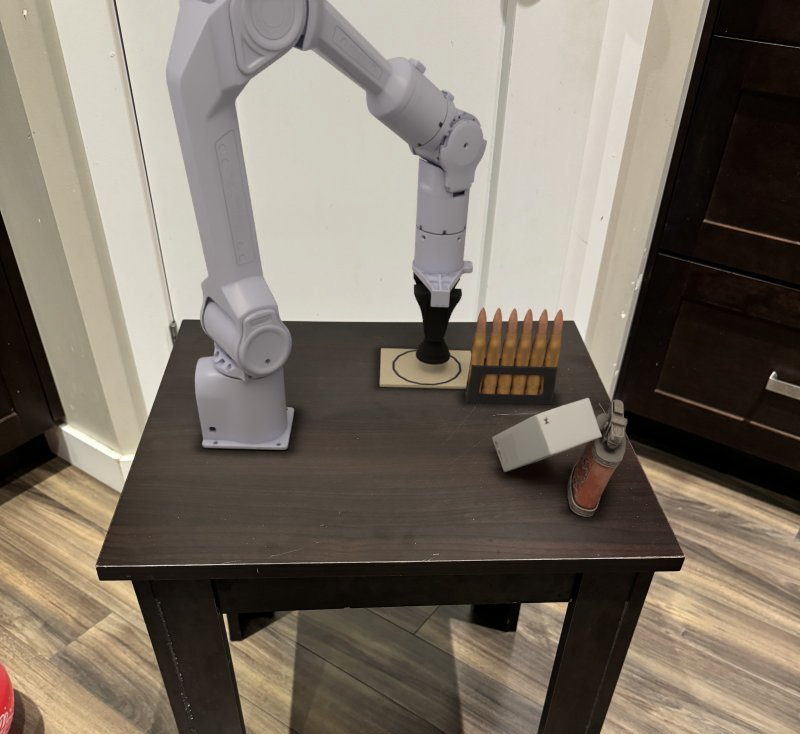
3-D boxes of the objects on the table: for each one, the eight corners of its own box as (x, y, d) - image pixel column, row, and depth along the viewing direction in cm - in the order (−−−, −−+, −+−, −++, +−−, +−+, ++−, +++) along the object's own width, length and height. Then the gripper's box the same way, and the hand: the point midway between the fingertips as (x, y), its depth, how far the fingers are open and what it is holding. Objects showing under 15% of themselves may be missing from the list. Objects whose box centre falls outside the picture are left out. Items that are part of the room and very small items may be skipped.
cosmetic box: (503, 474, 84) (549, 456, 72) (490, 437, 84) (534, 413, 72) (551, 457, 85) (604, 436, 74) (538, 420, 85) (589, 395, 74)
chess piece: (408, 353, 98) (412, 277, 91) (436, 344, 100) (442, 270, 93) (428, 368, 95) (433, 291, 89) (457, 359, 97) (464, 283, 90)
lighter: (597, 520, 79) (637, 445, 72) (565, 511, 79) (602, 435, 72) (598, 472, 84) (635, 398, 77) (569, 463, 84) (603, 389, 77)
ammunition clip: (550, 395, 96) (567, 306, 88) (552, 404, 94) (570, 313, 86) (464, 394, 95) (474, 303, 87) (466, 402, 94) (475, 311, 86)
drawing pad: (379, 386, 96) (379, 383, 96) (380, 350, 103) (381, 347, 102) (475, 389, 96) (475, 386, 96) (470, 353, 103) (470, 350, 103)
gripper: (481, 252, 81) (469, 366, 90) (472, 203, 92) (462, 309, 101) (415, 250, 81) (409, 364, 90) (413, 201, 92) (408, 307, 101)
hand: (433, 335), depth 96 cm, fingers closed on chess piece, 2 cm apart
